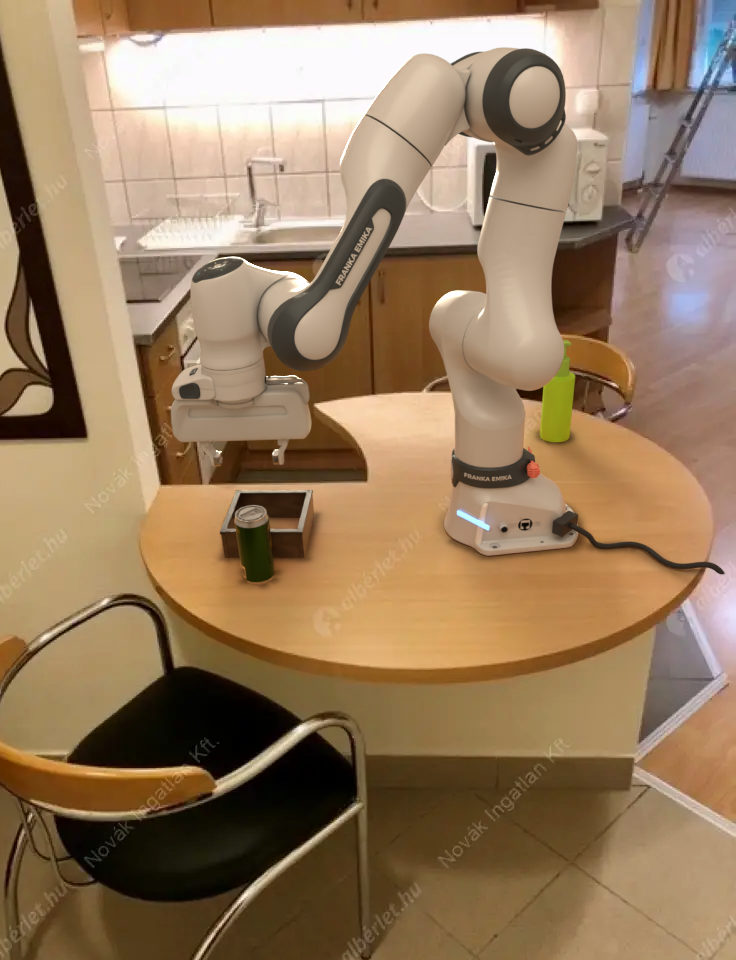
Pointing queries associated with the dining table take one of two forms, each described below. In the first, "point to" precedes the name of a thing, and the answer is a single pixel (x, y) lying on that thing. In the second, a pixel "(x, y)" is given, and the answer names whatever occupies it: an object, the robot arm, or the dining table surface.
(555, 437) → the soap dispenser
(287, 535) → the basket
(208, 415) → the robot arm
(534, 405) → the dining table surface
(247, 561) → the beer can
